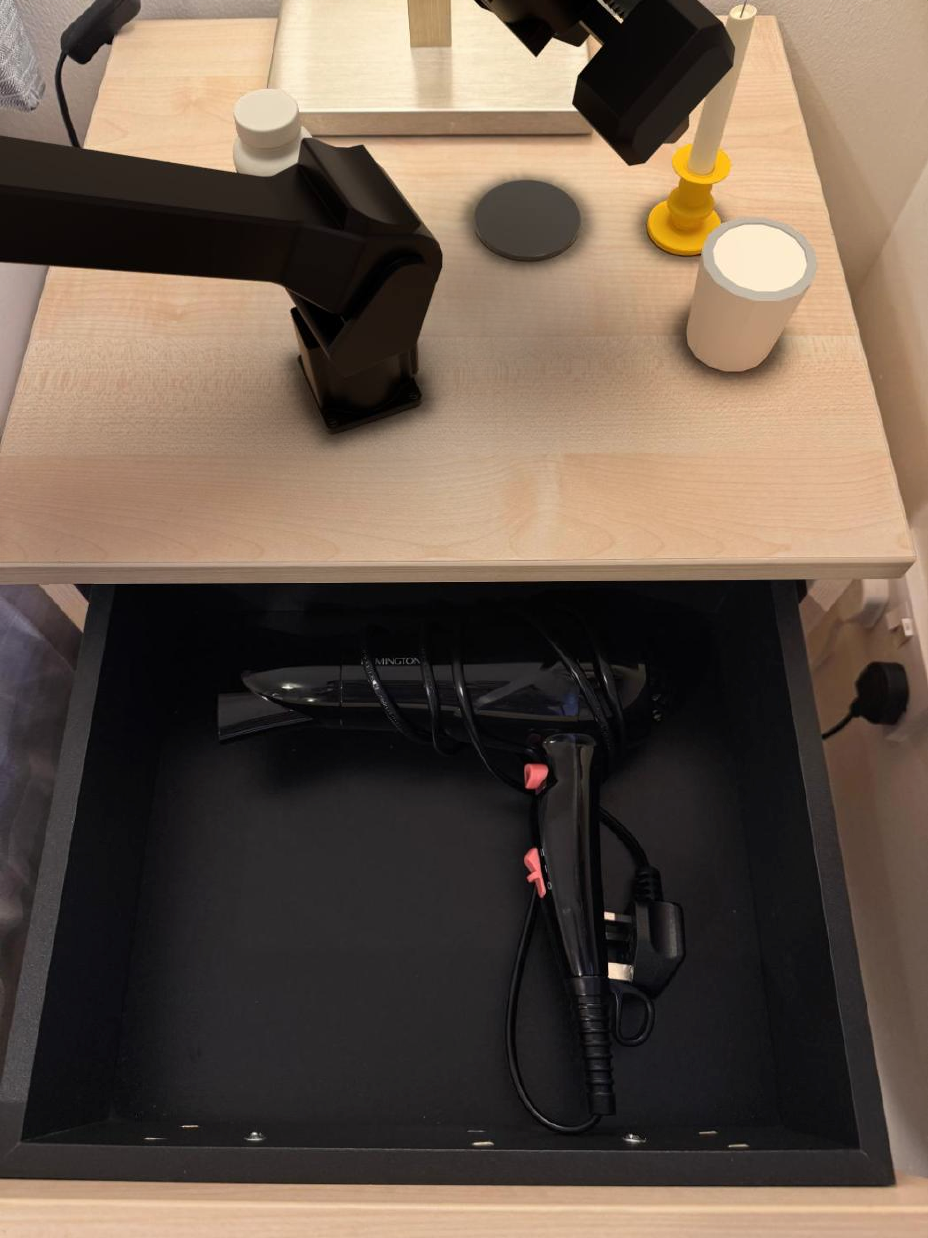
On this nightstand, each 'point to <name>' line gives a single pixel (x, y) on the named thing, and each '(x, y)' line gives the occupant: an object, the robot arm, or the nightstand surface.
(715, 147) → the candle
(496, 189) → the coaster
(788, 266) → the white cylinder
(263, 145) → the pill bottle
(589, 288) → the nightstand surface
